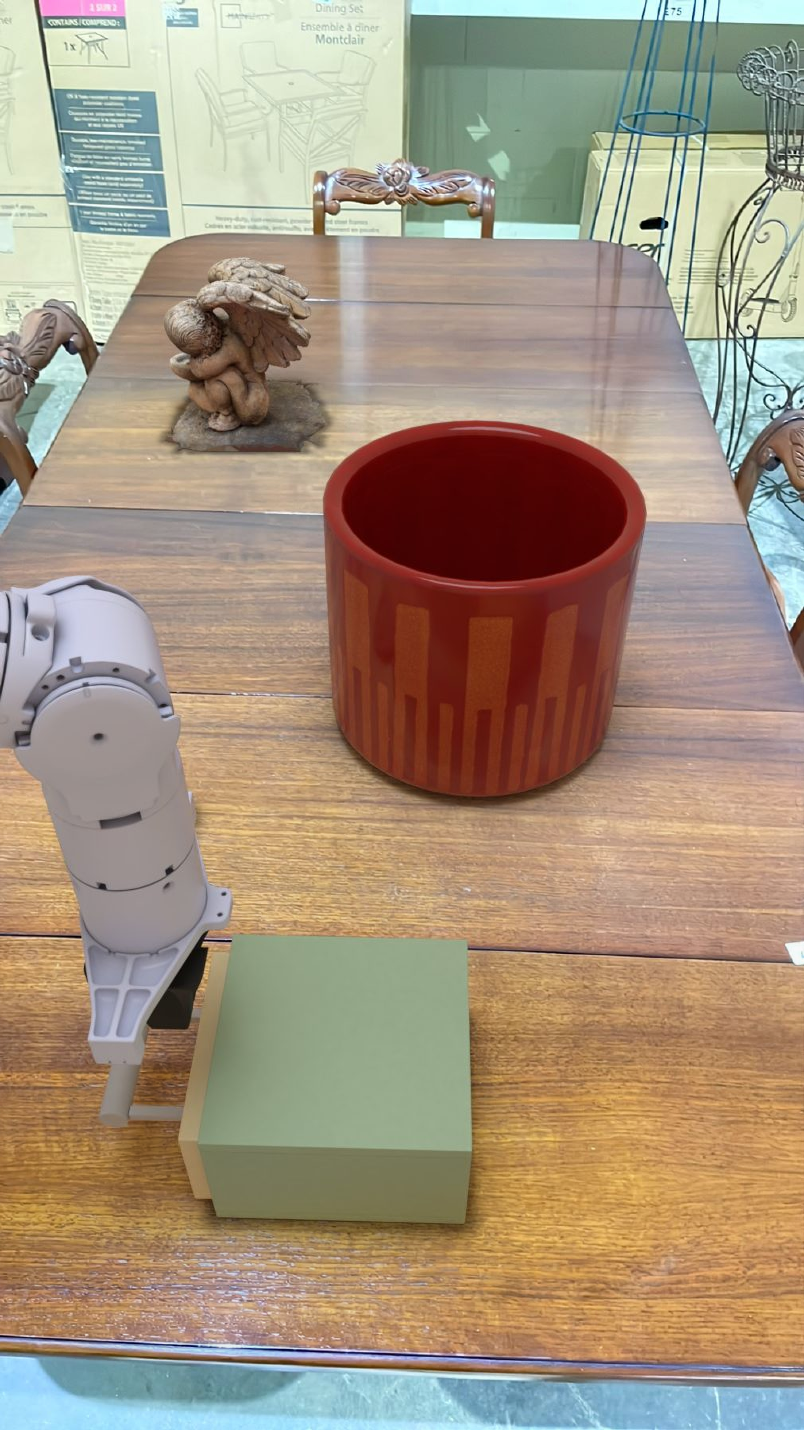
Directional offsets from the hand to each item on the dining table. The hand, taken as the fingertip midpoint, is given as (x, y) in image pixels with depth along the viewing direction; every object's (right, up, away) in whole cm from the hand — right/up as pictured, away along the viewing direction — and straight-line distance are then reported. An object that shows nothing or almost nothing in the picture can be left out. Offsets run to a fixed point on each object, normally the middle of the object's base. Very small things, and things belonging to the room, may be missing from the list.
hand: (172, 1011), depth 57 cm
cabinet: (+9, -8, +7) cm, 14 cm away
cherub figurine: (-6, +51, +72) cm, 88 cm away
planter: (+18, +16, +33) cm, 41 cm away
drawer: (+5, -7, +6) cm, 11 cm away
